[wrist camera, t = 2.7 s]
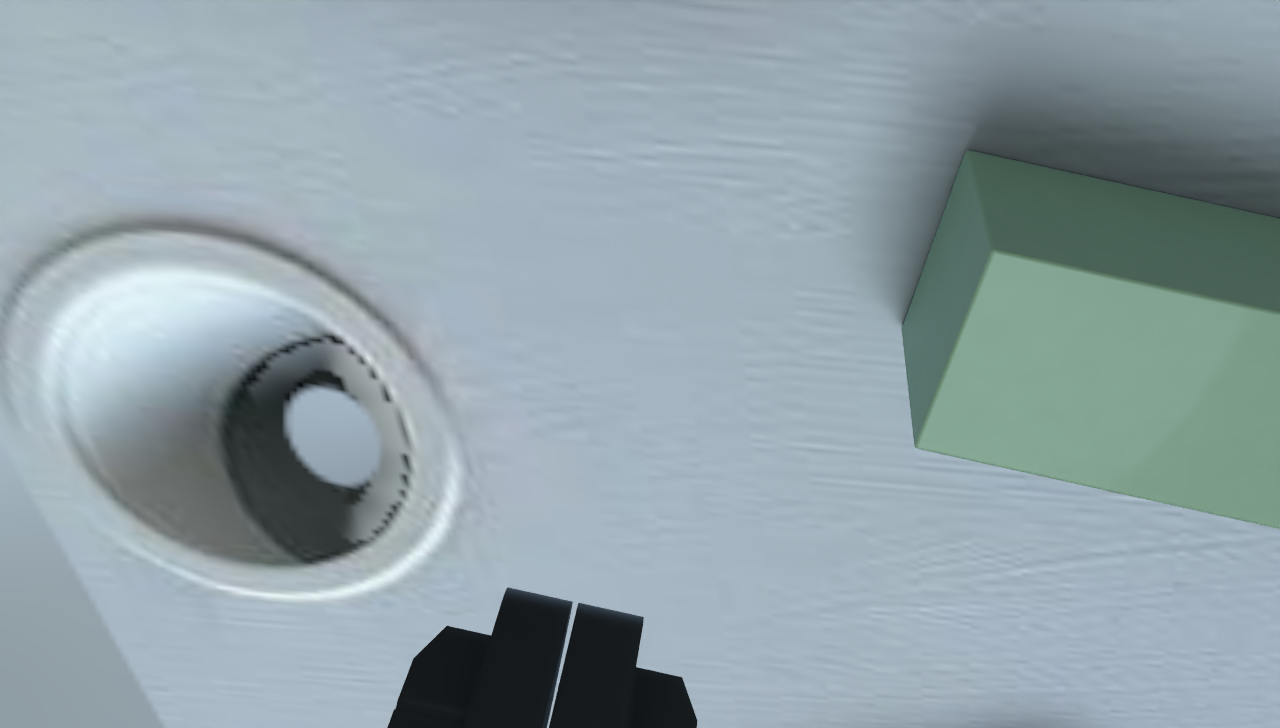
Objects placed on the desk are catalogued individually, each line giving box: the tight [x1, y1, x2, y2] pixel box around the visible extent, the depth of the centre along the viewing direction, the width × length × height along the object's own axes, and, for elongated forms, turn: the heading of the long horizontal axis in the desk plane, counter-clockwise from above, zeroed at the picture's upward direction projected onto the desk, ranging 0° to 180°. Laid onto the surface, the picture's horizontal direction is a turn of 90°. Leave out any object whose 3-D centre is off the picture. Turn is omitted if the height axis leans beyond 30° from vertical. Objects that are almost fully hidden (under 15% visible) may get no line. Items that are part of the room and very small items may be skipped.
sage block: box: [902, 150, 1280, 529], centre depth 21 cm, size 4×10×4 cm, turn 80°
